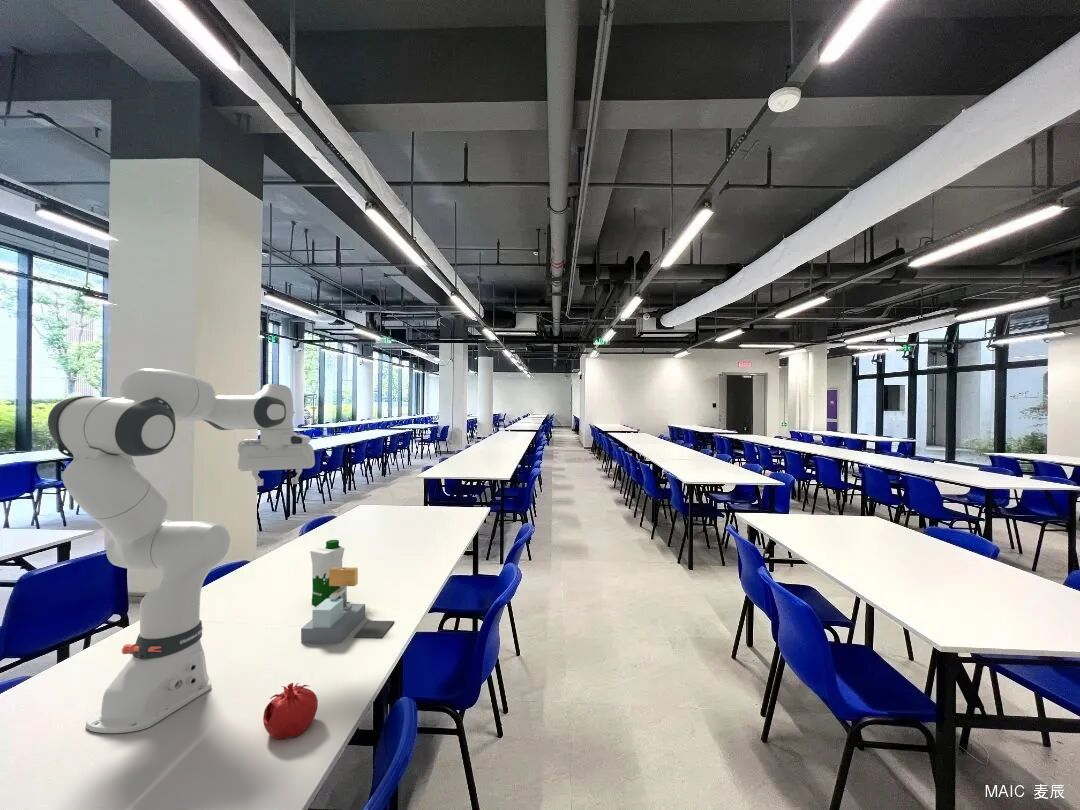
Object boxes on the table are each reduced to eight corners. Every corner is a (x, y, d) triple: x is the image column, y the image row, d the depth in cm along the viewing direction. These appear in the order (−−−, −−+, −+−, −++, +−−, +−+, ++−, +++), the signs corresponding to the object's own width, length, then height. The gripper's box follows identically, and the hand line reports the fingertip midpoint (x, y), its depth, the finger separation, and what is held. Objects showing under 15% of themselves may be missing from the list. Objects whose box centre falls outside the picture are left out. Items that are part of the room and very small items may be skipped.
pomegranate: (325, 712, 103) (326, 669, 103) (304, 745, 93) (305, 696, 93) (278, 713, 102) (279, 669, 102) (252, 745, 92) (253, 696, 92)
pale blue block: (330, 628, 133) (329, 610, 133) (312, 627, 133) (312, 609, 133) (343, 615, 141) (343, 598, 141) (326, 615, 141) (326, 598, 141)
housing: (339, 643, 132) (339, 627, 132) (301, 642, 133) (301, 627, 133) (365, 616, 149) (365, 602, 149) (331, 616, 150) (330, 602, 150)
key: (345, 616, 139) (345, 576, 139) (319, 616, 140) (319, 576, 140) (357, 605, 147) (357, 567, 147) (332, 604, 148) (332, 567, 148)
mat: (381, 638, 135) (381, 636, 135) (354, 637, 136) (354, 636, 136) (394, 622, 145) (394, 620, 145) (368, 621, 146) (368, 620, 146)
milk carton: (347, 599, 163) (347, 541, 163) (324, 609, 155) (324, 548, 155) (330, 595, 167) (329, 538, 167) (306, 604, 159) (306, 544, 159)
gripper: (234, 440, 137) (234, 488, 137) (312, 438, 143) (312, 484, 143) (241, 438, 143) (241, 484, 143) (315, 436, 149) (316, 481, 149)
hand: (277, 484), depth 143 cm, fingers open, 8 cm apart
